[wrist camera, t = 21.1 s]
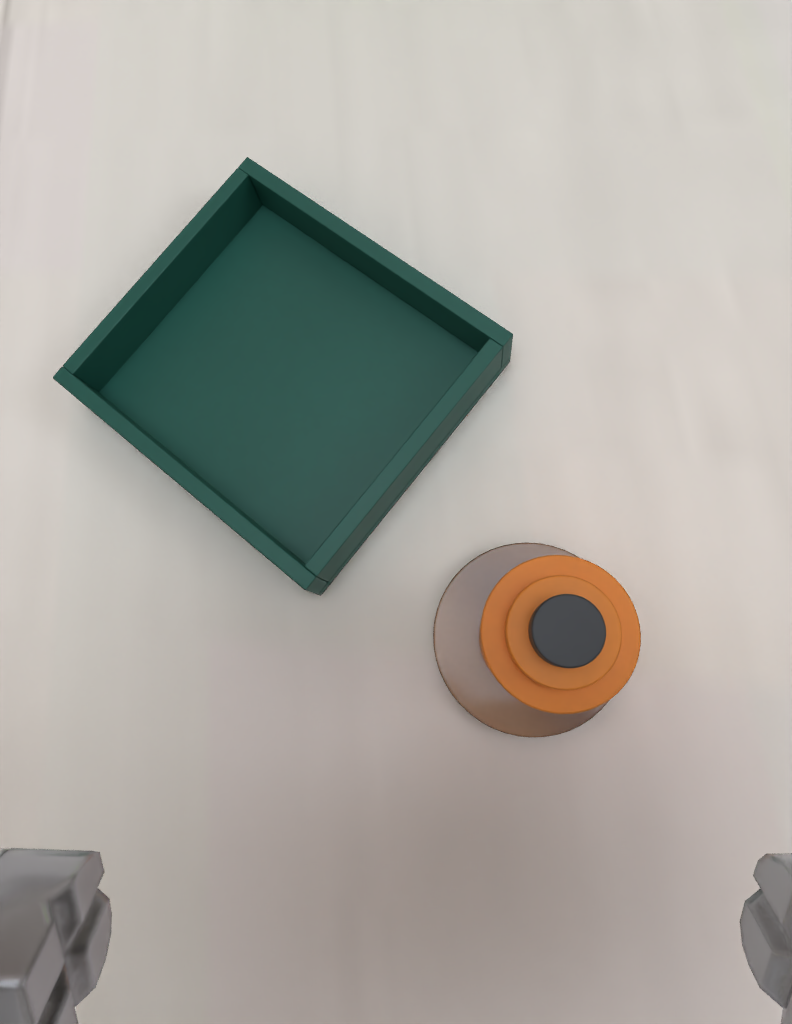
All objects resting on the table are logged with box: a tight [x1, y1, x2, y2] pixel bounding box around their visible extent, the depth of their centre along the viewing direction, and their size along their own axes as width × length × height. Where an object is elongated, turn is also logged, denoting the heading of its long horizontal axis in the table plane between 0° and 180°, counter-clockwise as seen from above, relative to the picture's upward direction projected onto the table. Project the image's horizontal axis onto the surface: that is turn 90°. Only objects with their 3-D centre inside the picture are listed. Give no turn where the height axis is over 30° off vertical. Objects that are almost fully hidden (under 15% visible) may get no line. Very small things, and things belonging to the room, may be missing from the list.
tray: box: [53, 157, 513, 595], centre depth 35 cm, size 16×18×3 cm
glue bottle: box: [479, 555, 641, 714], centre depth 26 cm, size 5×5×12 cm
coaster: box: [433, 543, 609, 737], centre depth 32 cm, size 9×9×1 cm
